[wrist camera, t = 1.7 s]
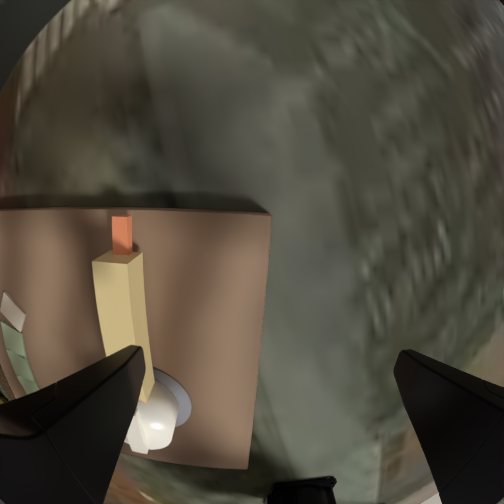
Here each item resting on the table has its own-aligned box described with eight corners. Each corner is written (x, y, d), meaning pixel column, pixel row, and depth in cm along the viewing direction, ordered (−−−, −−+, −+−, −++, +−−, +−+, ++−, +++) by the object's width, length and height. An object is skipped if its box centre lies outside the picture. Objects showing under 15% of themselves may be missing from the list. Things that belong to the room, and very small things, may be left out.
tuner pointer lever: (181, 426, 16) (174, 461, 13) (122, 416, 16) (109, 447, 13) (169, 215, 13) (147, 226, 10) (89, 213, 13) (54, 223, 10)
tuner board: (269, 213, 14) (272, 216, 13) (247, 458, 19) (247, 471, 18) (-23, 210, 13) (-35, 213, 12) (31, 411, 18) (25, 419, 17)
